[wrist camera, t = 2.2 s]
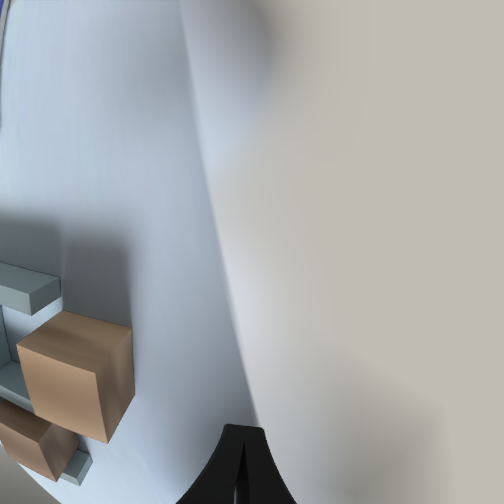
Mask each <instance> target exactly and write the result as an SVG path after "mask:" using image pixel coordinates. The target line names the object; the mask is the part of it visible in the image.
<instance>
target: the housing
mask: <svg viewBox="0 0 504 504" xmlns="http://www.w3.org/2000/svg"><path fill="white" fill-rule="evenodd" d="M59 297H61V294H60V277H56V276H52V275H47V274H43V273H39V272H35V271H31V270H28V269H24V268H20V267H16V266H12V265H9V264H5V263H1V262H0V403H1V402H2V401H3V400H4V399H7V400H8V401H10V402H12V403H14V404H16V405H18V406H20V407H22V408H24V409H26V410H28V411H30V412H32V413H34V414H35V412H34V409H33V406H32V403H31V400H30V396H29V393H28V390H27V386H26V383H25V379H24V375H23V371H22V368H21V364H19V363H16V362H14V361H12V360H11V356H10V351H9V347H8V342H7V338H6V333H5V327H4V322H3V316H2V310H1V305H3V306H6V307H9V308H11V309H14V310H17V311H20V312H22V313H25V314H28V315H31V316H32V315H33V314H35V313H36V312H38V311H39V310H41V309H42V308H44V307H46V306H47V305H49V304H50V303H52V302H53V301H55V300H56V299H58V298H59ZM91 465H92V459H91V456H90V454H87V453H84V452H82V451H79V450H77V449H76V451H75V453H74V454H73V456H72V458H71V459H70V461H69V463H68V464H67V466H66V467H65V469H64V471H63V472H62V474H61V476H60V478H62V479H64V480H66V481H69V482H71V483H73V484H76V485H78V486H80V485H81V483H82V482H83V480H84V478H85V476H86V474H87V472H88V470H89V468H90V467H91Z"/></svg>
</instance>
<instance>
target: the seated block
mask: <svg viewBox="0 0 504 504" xmlns="http://www.w3.org/2000/svg"><path fill="white" fill-rule="evenodd" d="M0 441H1V443H2V444H3V446H4V448H5V450H6V452H7V454H8V456H9V457H10V458H12V459H13V460H15V461H17V462H18V463H20V464H22V465H24V466H25V467H27V468H29V469H31V470H33V471H35V472H37V473H38V474H40V475H42V476H44V477H46V478H48V479H50V480H52V481H55V482H57V481H58V479H59V478H60V476H61V474H62V472H63V471H64V469H65V467H66V466H67V464H68V463H69V461H70V459H71V458H72V456H73V454H74V453H75V451H76V449H77V448H78V446H79V445H80V444H79V441H78V438H77V435H76V432H73V431H71V430H68V429H66V428H64V427H61V426H59V425H57V424H54V423H52V422H50V421H47V420H45V419H43V418H41V417H39V416H37V415H35V414H34V413H32V412H30V411H28V410H26V409H24V408H22V407H20V406H18V405H16V404H14V403H12V402H10V401H8V400H7V399H4V400H3V401H2V402H1V403H0Z"/></svg>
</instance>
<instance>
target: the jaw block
mask: <svg viewBox="0 0 504 504" xmlns="http://www.w3.org/2000/svg"><path fill="white" fill-rule="evenodd" d="M16 346H17V350H18V355H19V359H20V363H21V368H22V371H23V375H24V379H25V383H26V386H27V390H28V393H29V396H30V400H31V403H32V406H33V409H34V412H35V415H37V416H39V417H41V418H43V419H45V420H47V421H50V422H52V423H54V424H57V425H59V426H61V427H64V428H66V429H68V430H71V431H73V432H76V433H79V434H81V435H84V436H87V437H89V438H92V439H95V440H98V441H101V442H103V443H106V444H108V443H109V441H110V439H111V437H112V435H113V434H114V432H115V430H116V428H117V426H118V424H119V422H120V421H121V419H122V417H123V415H124V413H125V412H126V410H127V408H128V406H129V404H130V402H131V401H132V399H133V397H134V395H135V385H134V368H133V342H132V328H130V327H126V326H122V325H117V324H113V323H109V322H105V321H101V320H97V319H93V318H89V317H85V316H81V315H78V314H74V313H70V312H67V311H63V310H62V311H61V312H59V313H58V314H56V315H55V316H54V317H52V318H51V319H49V320H48V321H47V322H45V323H44V324H43V325H41V326H40V327H39V328H37V329H36V330H34V331H33V332H32V333H30V334H29V335H28V336H26V337H25V338H24V339H22V340H21V341H20V342H18V343H17V344H16Z"/></svg>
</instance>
